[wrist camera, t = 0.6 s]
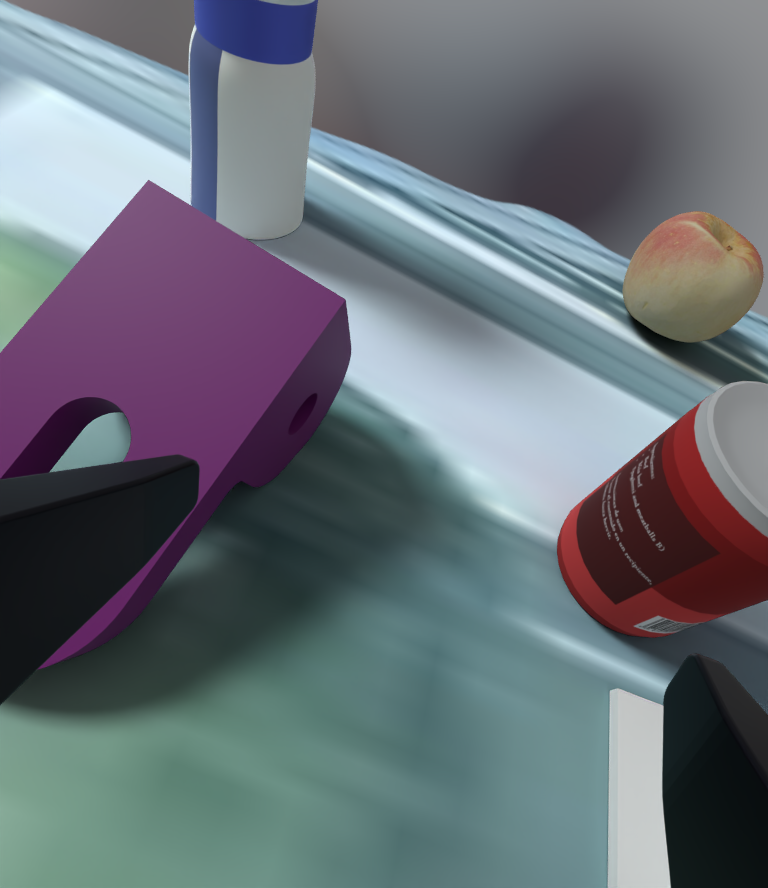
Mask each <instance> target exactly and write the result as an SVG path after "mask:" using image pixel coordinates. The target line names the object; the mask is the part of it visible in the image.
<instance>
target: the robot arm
mask: <svg viewBox="0 0 768 888" xmlns="http://www.w3.org/2000/svg"><path fill="white" fill-rule="evenodd" d="M199 474H200V466H199V464H198V462H197V461H196V460H194V459H191V458H188V457H186V456H183V455H180V454H175V455H168V456H161V457H154V458H147V459H140V460H133V461H126V462H119V463H112V464H105V465H99V466H92V467H85V468H78V469H71V470H64V471H57V472H50V473H43V474H36V475H29V476H22V477H15V478H8V479H1V480H0V705H1V704H2V703H3V702H4V701H5V700H6V699H7V698H8V697H9V696H10V695H11V694H12V693H13V692H14V691H15V690H16V689H17V688H19V687H20V686H21V685H22V684H23V683H24V682H25V681H26V680H27V679H28V678H29V677H30V676H31V675H32V674H33V673H34V672H35V671H36V670H37V669H38V668H39V667H40V666H41V665H42V664H44V663H45V662H46V661H47V660H48V659H49V658H50V657H51V656H52V655H53V654H54V653H55V652H56V651H57V650H58V649H59V648H60V647H61V646H62V645H63V644H64V643H65V642H66V641H67V640H69V639H70V638H71V637H72V636H73V635H74V634H75V633H76V632H77V631H78V630H79V629H80V628H81V627H82V626H83V625H84V624H85V623H86V622H87V621H88V620H89V619H90V618H91V617H92V616H94V615H95V614H96V613H97V612H98V611H99V610H100V609H101V608H102V607H103V606H104V605H105V604H106V603H107V602H108V601H109V600H110V599H111V598H112V597H113V596H114V595H115V594H116V593H117V592H119V591H120V590H121V589H122V588H123V587H124V586H125V585H126V584H127V583H128V582H129V581H130V580H131V579H132V578H133V577H134V576H135V575H136V574H137V573H138V572H139V571H140V570H141V569H142V568H143V567H144V566H145V565H146V564H147V563H148V562H149V561H150V559H151V558H152V557H153V556H154V555H155V554H156V553H157V551H158V550H159V549H160V548H161V547H162V545H163V544H164V543H165V542H166V541H167V540H168V538H169V537H170V536H171V535H172V534H173V532H174V531H175V530H176V529H177V528H178V527H179V525H180V524H181V523H182V522H183V521H184V519H185V518H186V517H187V516H188V515H189V514H190V512H191V511H192V510H193V509H194V507H195V505H196V503H197V500H198V494H199ZM662 800H663V813H664V824H665V834H666V844H667V854H668V864H669V875H670V885H671V888H768V715H767V714H766V712H765V711H764V710H763V709H762V708H761V707H760V706H759V704H758V703H757V702H756V701H755V700H754V699H753V698H752V697H751V695H750V694H749V693H748V692H747V691H746V690H745V689H744V687H743V686H742V685H741V684H740V683H739V682H738V681H737V680H736V678H735V677H734V676H733V675H732V674H731V673H730V672H729V670H728V669H727V668H726V667H725V666H724V665H723V664H722V663H720V662H718V661H715V660H713V659H710V658H708V657H705V656H702V655H700V654H697V653H695V654H691V655H689V656H688V657H687V658H686V660H685V661H684V663H683V664H682V666H681V667H680V669H679V670H678V672H677V673H676V675H675V676H674V677H673V679H672V680H671V682H670V683H669V685H668V687H667V689H666V691H665V695H664V702H663V758H662Z"/></svg>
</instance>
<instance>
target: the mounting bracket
mask: <svg viewBox="0 0 768 888" xmlns="http://www.w3.org/2000/svg"><path fill="white" fill-rule="evenodd" d="M350 357H351V341H350V332H349V324H348V315H347V307H346V300H345V299H344V298H342V297H340V296H339V295H337V294H336V293H334V292H332V291H331V290H329V289H327V288H326V287H324V286H322V285H321V284H319V283H317V282H316V281H314V280H313V279H311V278H309V277H308V276H306V275H304V274H303V273H301V272H299V271H298V270H296V269H294V268H293V267H291V266H289V265H288V264H286V263H285V262H283V261H281V260H280V259H278V258H276V257H275V256H273V255H271V254H270V253H268V252H266V251H265V250H263V249H261V248H260V247H258V246H257V245H255V244H253V243H252V242H250V241H248V240H247V239H245V238H243V237H242V236H240V235H238V234H237V233H235V232H233V231H232V230H230V229H229V228H227V227H225V226H224V225H222V224H220V223H219V222H217V221H215V220H214V219H212V218H210V217H209V216H207V215H206V214H204V213H202V212H201V211H199V210H197V209H196V208H194V207H192V206H191V205H189V204H187V203H186V202H184V201H182V200H181V199H179V198H178V197H176V196H174V195H173V194H171V193H169V192H168V191H166V190H164V189H163V188H161V187H159V186H158V185H156V184H154V183H153V182H151V181H150V180H148V181H147V182H146V184H145V185H144V186H143V187H142V188H141V189H140V191H139V192H138V193H137V194H136V195H135V196H134V198H133V199H132V200H131V201H130V202H129V203H128V205H127V206H126V207H125V208H124V209H123V210H122V212H121V213H120V214H119V215H118V216H117V217H116V219H115V220H114V221H113V222H112V223H111V224H110V226H109V227H108V228H107V229H106V230H105V231H104V233H103V234H102V235H101V236H100V237H99V238H98V240H97V241H96V242H95V243H94V244H93V245H92V247H91V248H90V249H89V250H88V251H87V252H86V254H85V255H84V256H83V257H82V258H81V259H80V261H79V262H78V263H77V264H76V265H75V266H74V268H73V269H72V270H71V271H70V272H69V273H68V275H67V276H66V277H65V278H64V279H63V280H62V282H61V283H60V284H59V285H58V286H57V287H56V289H55V290H54V291H53V292H52V293H51V294H50V296H49V297H48V298H47V299H46V300H45V301H44V303H43V304H42V305H41V306H40V307H39V308H38V310H37V311H36V312H35V313H34V314H33V315H32V317H31V318H30V319H29V320H28V321H27V322H26V324H25V325H24V326H23V327H22V328H21V329H20V331H19V332H18V333H17V334H16V335H15V336H14V338H13V339H12V340H11V341H10V342H9V343H8V345H7V346H6V347H5V348H4V349H3V350H2V352H1V353H0V480H1V479H8V478H15V477H22V476H29V475H36V474H43V473H49V472H50V470H51V469H52V468H53V467H54V465H55V464H56V463H57V462H58V460H59V459H60V458H61V457H62V455H63V454H64V453H65V452H66V450H67V449H68V448H69V446H70V445H71V444H72V443H73V441H74V440H75V439H76V438H77V436H78V435H79V434H80V433H81V431H82V430H83V429H84V428H85V427H86V426H87V425H88V424H89V423H90V422H91V421H93V420H94V419H96V418H98V417H100V416H102V415H105V414H108V413H113V412H123V413H124V414H125V415H126V417H127V419H128V421H129V424H130V428H131V444H130V448H129V451H128V453H127V456H126V458H125V459H124V461H123V462H126V461H133V460H140V459H147V458H154V457H161V456H168V455H175V454H180V455H183V456H186V457H188V458H191V459H194V460H196V461H197V462H198V464H199V466H200V474H199V494H198V500H197V503H196V505H195V507H194V509H193V510H192V511H191V512H190V514H189V515H188V516H187V517H186V518H185V519H184V521H183V522H182V523H181V524H180V525H179V527H178V528H177V529H176V530H175V531H174V532H173V534H172V535H171V536H170V537H169V538H168V540H167V541H166V542H165V543H164V544H163V545H162V547H161V548H160V549H159V550H158V551H157V553H156V554H155V555H154V556H153V557H152V558H151V559H150V561H149V562H148V563H147V564H146V565H145V566H144V567H143V568H142V569H141V570H140V571H139V572H138V573H137V574H136V575H135V576H134V577H133V578H132V579H131V580H130V581H129V582H128V583H127V584H126V585H125V586H124V587H123V588H122V589H121V590H120V591H119V592H117V593H116V594H115V595H114V596H113V597H112V598H111V599H110V600H109V601H108V602H107V603H106V604H105V605H104V606H103V607H102V608H101V609H100V610H99V611H98V612H97V613H96V614H95V615H94V616H92V617H91V618H90V619H89V620H88V621H87V622H86V623H85V624H84V625H83V626H82V627H81V628H80V629H79V630H78V631H77V632H76V633H75V634H74V635H73V636H72V637H71V638H70V639H69V640H67V641H66V642H65V643H64V644H63V645H62V646H61V647H60V648H59V649H58V650H57V651H56V652H55V653H54V654H53V655H52V656H51V657H50V658H49V659H48V660H47V661H46V662H45V663H44V664H42V665H41V666H40V667H39V668H38V669H41V668H45V667H48V666H50V665H53V664H56V663H59V662H62V661H65V660H68V659H71V658H74V657H77V656H80V655H82V654H84V653H87V652H89V651H91V650H94V649H96V648H97V647H99V646H101V645H103V644H105V643H106V642H108V641H109V640H111V639H112V638H114V637H115V636H117V635H118V634H119V633H121V632H122V631H123V630H124V629H125V628H126V627H128V626H129V625H130V624H131V623H132V622H133V621H134V620H135V619H136V618H137V617H138V616H139V615H140V614H141V613H142V611H143V610H144V609H145V607H146V606H147V605H148V604H149V602H150V601H151V600H152V598H153V597H154V595H155V594H156V593H157V591H158V590H159V588H160V587H161V586H162V584H163V583H164V581H165V580H166V579H167V577H168V576H169V574H170V573H171V572H172V570H173V569H174V567H175V566H176V565H177V563H178V562H179V560H180V559H181V558H182V556H183V555H184V553H185V552H186V551H187V549H188V548H189V546H190V545H191V544H192V542H193V541H194V539H195V538H196V537H197V535H198V534H199V532H200V531H201V529H202V528H203V527H204V525H205V524H206V522H207V521H208V520H209V518H210V517H211V515H212V514H213V513H214V511H215V510H216V508H217V507H218V506H219V504H220V503H221V501H222V500H223V499H224V497H225V496H226V494H227V493H228V492H229V491H230V490H231V488H232V487H233V486H234V485H236V484H237V483H238V482H240V481H243V482H245V483H247V484H249V485H250V486H252V487H260V486H263V485H265V484H267V483H268V482H270V481H271V480H273V479H274V478H275V477H276V476H278V475H279V474H280V472H281V471H282V470H283V469H284V468H285V467H286V466H287V464H288V463H289V462H290V461H291V460H292V459H293V458H294V456H295V455H296V454H297V453H298V452H299V451H300V450H301V449H302V447H303V446H304V445H305V444H306V443H307V442H308V441H309V439H310V438H311V436H312V435H313V434H314V432H315V431H316V429H317V428H318V426H319V425H320V423H321V421H322V420H323V418H324V417H325V415H326V413H327V412H328V410H329V408H330V406H331V404H332V403H333V401H334V399H335V397H336V395H337V393H338V391H339V389H340V386H341V384H342V382H343V379H344V377H345V374H346V372H347V368H348V365H349V361H350ZM38 669H37V670H38Z"/></svg>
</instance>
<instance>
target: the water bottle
mask: <svg viewBox="0 0 768 888" xmlns="http://www.w3.org/2000/svg"><path fill="white" fill-rule="evenodd" d="M317 3H318V0H194V12H195V26H194V28H193V32H192V35H191V40H190V47H189V95H190V128H191V184H190V200H191V205H192V207H194V208H196V209H197V210H199V211H201V212H202V213H204V214H206V215H207V216H209V217H210V218H212V219H214V220H215V221H217V222H219V223H220V224H222V225H224V226H225V227H227V228H229V229H230V230H232V231H233V232H235V233H237V234H238V235H240V236H242V237H243V238H245V239H253V240H267V239H275V238H279V237H283V236H285V235H288V234H290V233H291V232H293V231H294V230H296V229H297V228H298V226H299V225H300V224H301V222H302V219H303V208H304V194H305V181H306V169H307V158H308V148H309V139H310V131H311V122H312V115H313V106H314V96H315V95H314V94H315V80H316V78H315V77H316V76H315V64H314V59H313V55H312V46H313V37H314V29H315V20H316V13H317Z"/></svg>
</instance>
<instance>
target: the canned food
mask: <svg viewBox="0 0 768 888" xmlns="http://www.w3.org/2000/svg"><path fill="white" fill-rule="evenodd" d="M557 555H558V563H559V567H560V570H561V573H562V576H563V579H564V581H565V583H566V585H567V587H568V589H569V591H570V592H571V594H572V595H573V596H574V598H575V599H576V600H577V602H578V603H579V604H580V605H581V606H582V607H583V608H584V610H585V611H586V612H587V613H588V614H589V615H591V616H592V617H593V618H595V619H596V620H597V621H599V622H600V623H601V624H603V625H605V626H606V627H608V628H610V629H612V630H614V631H616V632H620V633H623V634H626V635H630V636H639V637H652V638H654V637H662V636H668V635H671V634H673V633H676V632H679V631H682V630H685V629H687V628H690V627H693V626H696V625H699V624H701V623H704V622H707V621H710V620H713V619H716V618H718V617H721V616H724V615H727V614H730V613H732V612H735V611H738V610H741V609H744V608H746V607H749V606H752V605H755V604H758V603H760V602H763V601H766V600H768V384H765V383H761V382H752V381H741V382H734V383H730V384H728V385H726V386H724V387H722V388H720V389H719V390H718V391H716V392H715V393H713V394H711V395H709V396H708V397H706V398H705V399H704V400H703V401H702V402H700V403H699V404H698V405H697V406H696V407H694V408H693V409H691V410H690V411H689V412H687V413H686V414H685V415H684V416H683V417H681V418H680V419H679V420H678V421H677V422H675V423H674V424H673V425H672V426H671V427H669V428H668V429H667V430H666V431H665V432H663V433H662V434H661V435H660V436H659V437H658V438H656V439H655V440H654V441H653V442H652V443H650V444H649V445H648V446H647V447H646V448H644V449H643V450H642V451H641V452H640V453H638V454H637V455H636V456H635V457H634V458H632V459H631V460H630V461H629V462H628V463H626V464H625V465H624V466H623V467H622V468H620V469H619V470H618V471H617V472H616V473H614V474H613V475H612V476H611V477H610V478H609V479H607V480H606V481H605V482H604V483H603V484H601V485H600V486H599V487H598V488H597V489H595V490H594V491H593V492H592V493H591V494H589V495H588V496H587V497H586V498H585V499H583V500H582V501H581V502H580V503H579V504H578V505H576V506H575V507H574V508H573V509H572V510H571V511H570V513H569V515H568V516H567V518H566V520H565V522H564V524H563V526H562V528H561V531H560V534H559V537H558V544H557Z"/></svg>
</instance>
